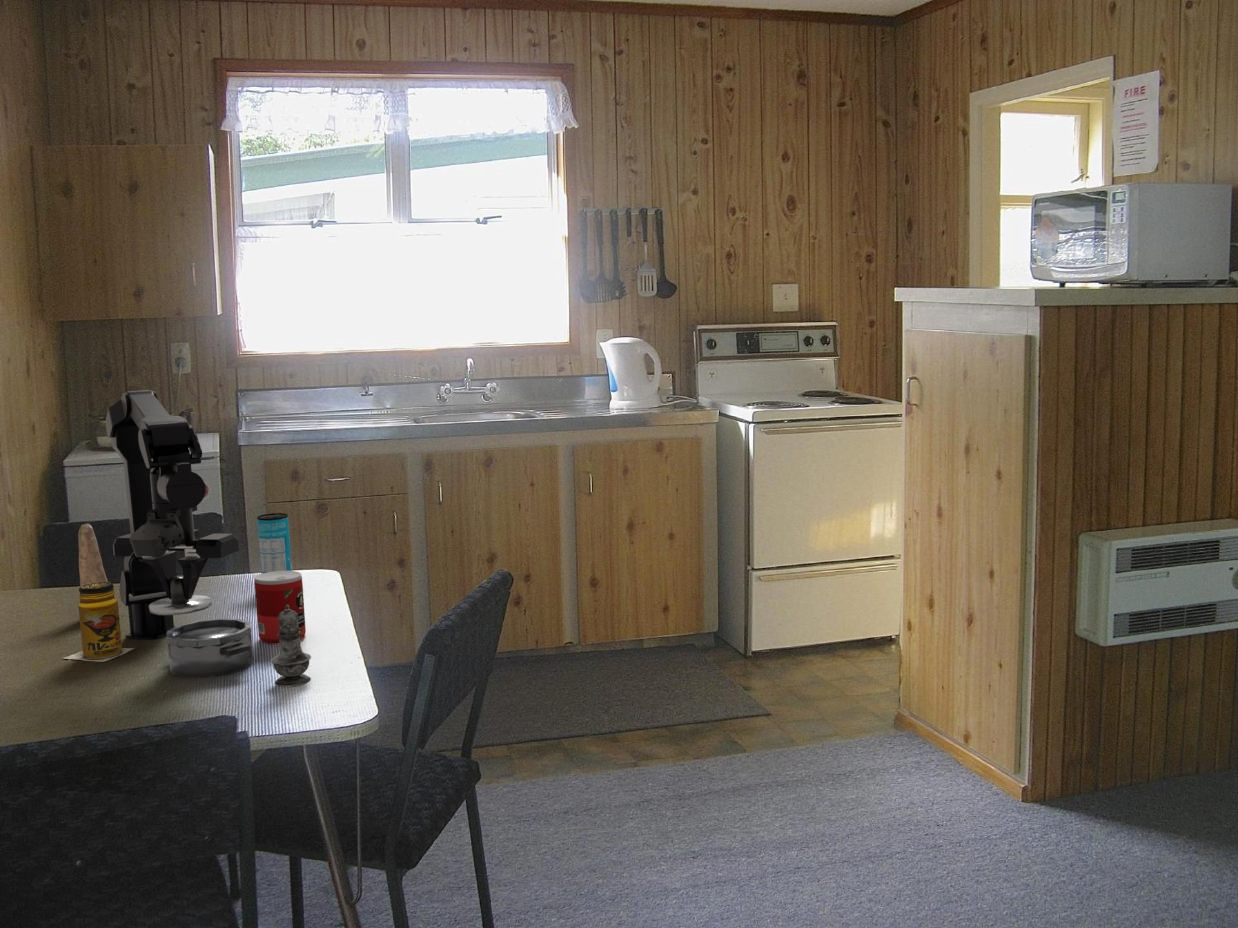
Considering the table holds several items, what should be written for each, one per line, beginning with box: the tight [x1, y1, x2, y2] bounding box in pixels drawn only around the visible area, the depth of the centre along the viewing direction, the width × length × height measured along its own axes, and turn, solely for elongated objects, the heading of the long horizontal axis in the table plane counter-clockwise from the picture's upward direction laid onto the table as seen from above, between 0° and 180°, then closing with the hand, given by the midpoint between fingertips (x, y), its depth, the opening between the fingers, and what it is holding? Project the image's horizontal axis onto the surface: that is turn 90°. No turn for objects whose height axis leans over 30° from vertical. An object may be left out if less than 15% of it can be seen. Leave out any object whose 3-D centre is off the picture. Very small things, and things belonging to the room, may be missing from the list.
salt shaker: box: [270, 604, 312, 688], centre depth 185 cm, size 6×6×12 cm
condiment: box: [62, 581, 136, 663], centre depth 204 cm, size 7×8×12 cm
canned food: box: [254, 570, 307, 645], centre depth 210 cm, size 8×8×11 cm
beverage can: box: [256, 512, 293, 574], centre depth 245 cm, size 6×6×15 cm
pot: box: [165, 617, 254, 679], centre depth 195 cm, size 18×13×6 cm
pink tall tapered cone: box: [77, 523, 109, 588], centre depth 228 cm, size 6×18×6 cm
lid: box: [149, 575, 212, 616], centre depth 192 cm, size 9×9×5 cm
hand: (180, 598), depth 192 cm, fingers closed on lid, 3 cm apart
